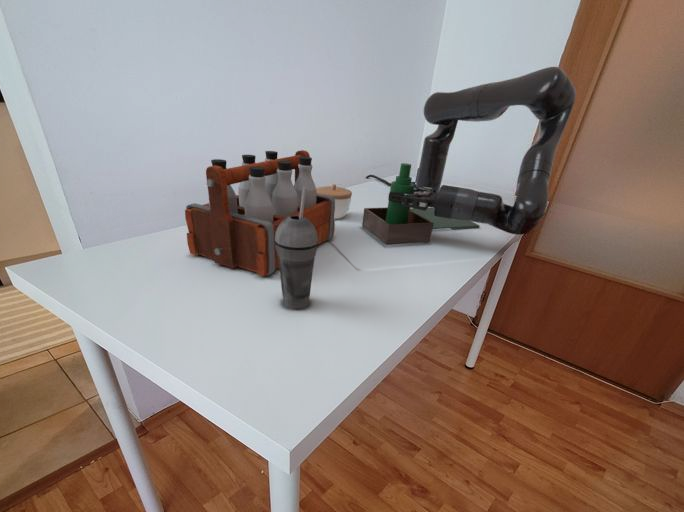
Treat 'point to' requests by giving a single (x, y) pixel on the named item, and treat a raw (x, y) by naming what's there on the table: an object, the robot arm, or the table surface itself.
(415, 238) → the open wooden box
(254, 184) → the milk bottle holder
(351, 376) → the table surface
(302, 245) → the beverage cup
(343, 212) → the trinket box
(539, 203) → the robot arm
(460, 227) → the mat
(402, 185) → the bottle
